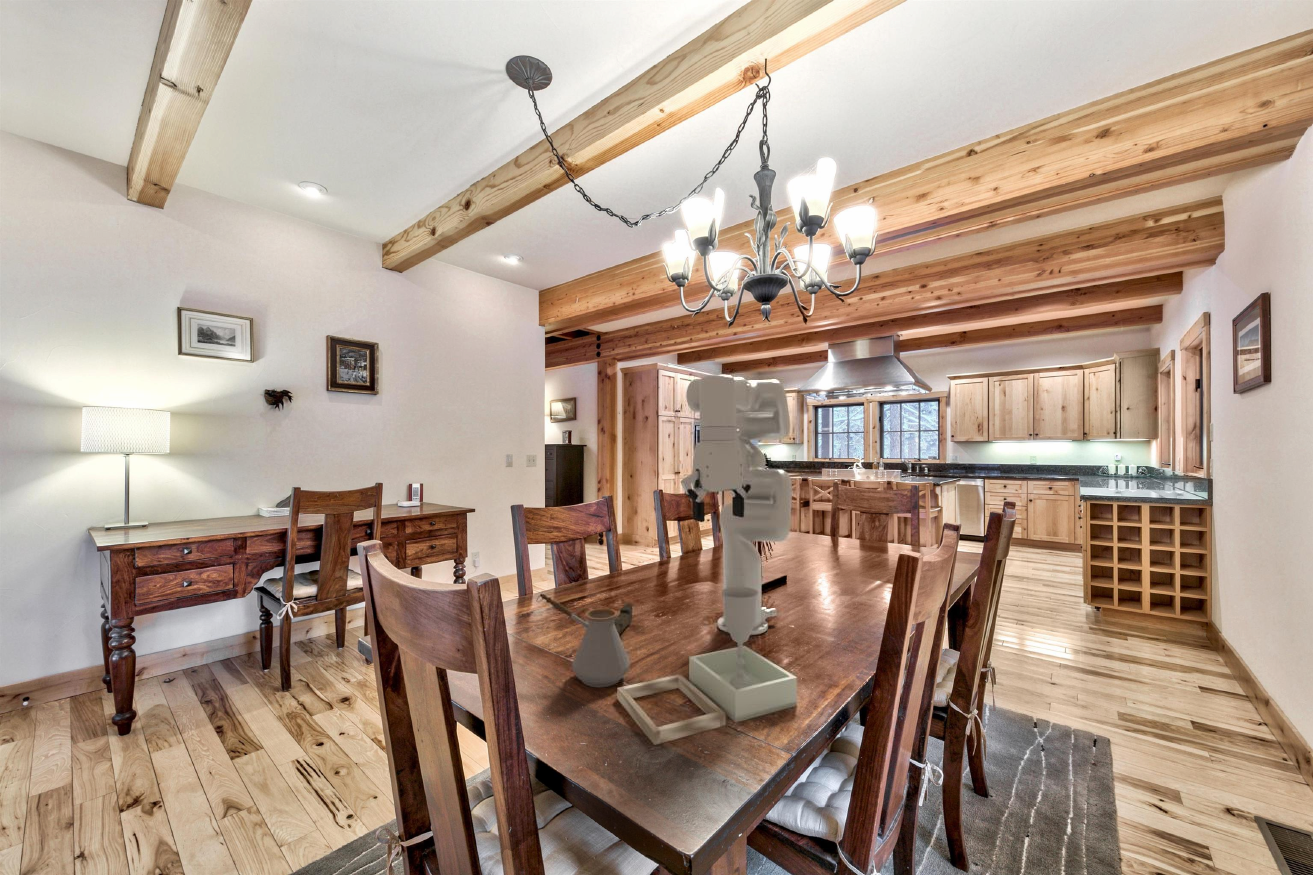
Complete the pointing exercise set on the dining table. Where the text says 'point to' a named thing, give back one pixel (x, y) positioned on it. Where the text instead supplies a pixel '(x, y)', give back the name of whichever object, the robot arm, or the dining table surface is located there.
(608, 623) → the coffee pot
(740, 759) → the dining table surface
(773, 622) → the dining table surface
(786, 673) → the sage bin
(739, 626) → the chalice
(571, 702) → the dining table surface
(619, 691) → the ash frame
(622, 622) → the hand tool
